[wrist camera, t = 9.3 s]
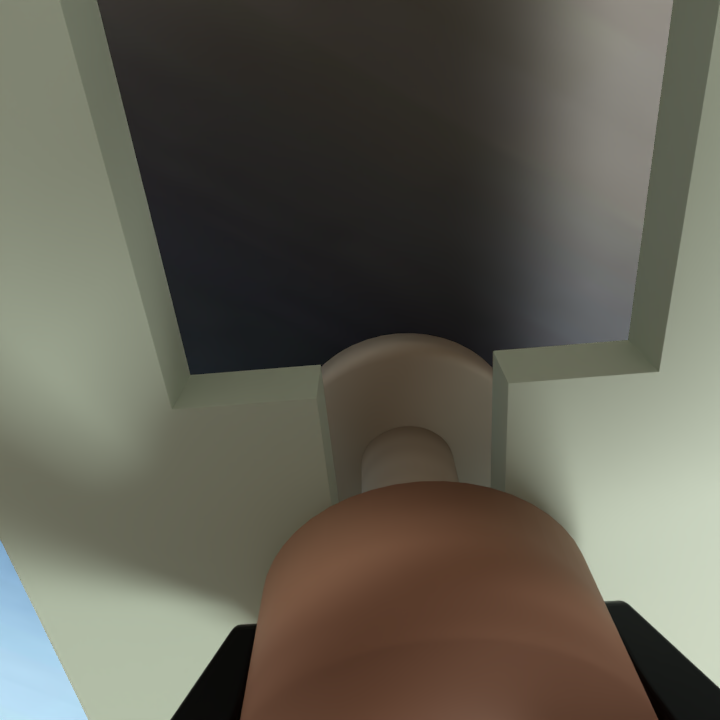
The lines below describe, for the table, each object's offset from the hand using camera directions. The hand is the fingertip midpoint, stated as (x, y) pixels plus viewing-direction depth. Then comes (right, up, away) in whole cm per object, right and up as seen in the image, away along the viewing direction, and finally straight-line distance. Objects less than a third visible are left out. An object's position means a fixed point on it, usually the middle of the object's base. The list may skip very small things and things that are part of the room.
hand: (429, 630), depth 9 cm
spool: (0, +2, +5) cm, 5 cm away
